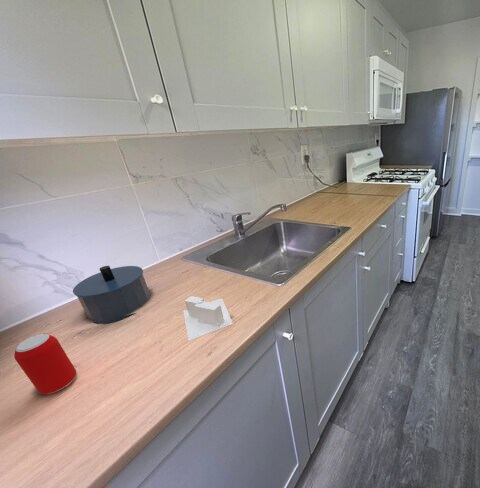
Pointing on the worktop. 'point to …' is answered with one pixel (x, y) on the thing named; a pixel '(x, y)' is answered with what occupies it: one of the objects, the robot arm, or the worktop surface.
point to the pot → (116, 303)
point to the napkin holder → (205, 316)
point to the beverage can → (45, 363)
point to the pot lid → (107, 281)
